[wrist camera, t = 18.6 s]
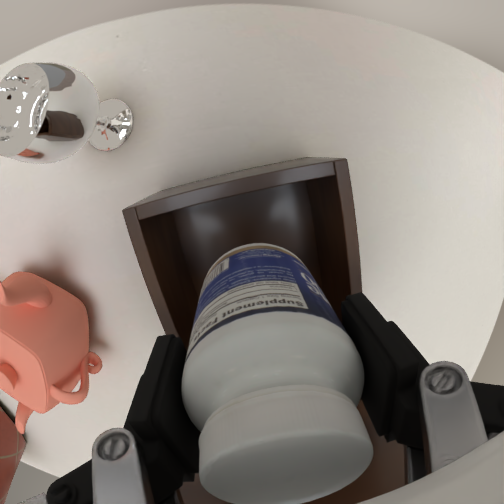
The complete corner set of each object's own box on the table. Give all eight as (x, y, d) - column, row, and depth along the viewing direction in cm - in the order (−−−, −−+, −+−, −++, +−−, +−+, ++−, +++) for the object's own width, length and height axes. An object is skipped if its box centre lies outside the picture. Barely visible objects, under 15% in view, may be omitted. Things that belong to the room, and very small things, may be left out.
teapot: (54, 378, 28) (18, 438, 18) (-7, 281, 24) (-65, 325, 13) (139, 358, 27) (108, 440, 17) (68, 232, 23) (-10, 280, 12)
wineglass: (70, 143, 20) (-30, 147, 9) (99, 82, 19) (10, 44, 7) (120, 170, 21) (29, 187, 10) (153, 106, 20) (81, 65, 9)
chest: (159, 191, 22) (121, 209, 14) (309, 156, 22) (347, 158, 14) (207, 343, 27) (200, 407, 19) (332, 316, 27) (363, 372, 19)
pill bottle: (318, 325, 15) (388, 486, 6) (219, 347, 15) (212, 521, 6) (303, 227, 13) (422, 368, 4) (188, 254, 13) (120, 429, 4)
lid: (125, 590, 3) (181, 623, 3) (499, 517, 3) (463, 567, 3) (198, 407, 19) (216, 457, 18) (365, 371, 18) (370, 424, 18)
